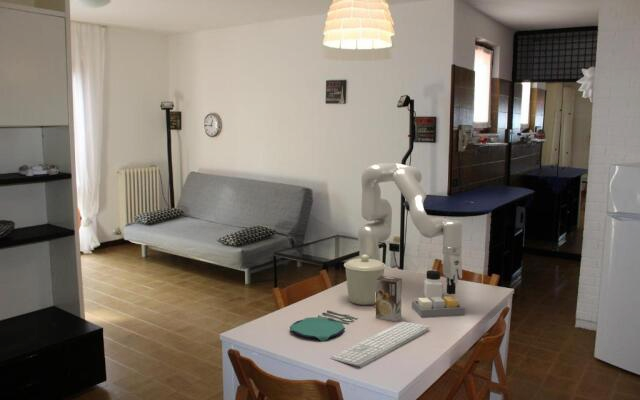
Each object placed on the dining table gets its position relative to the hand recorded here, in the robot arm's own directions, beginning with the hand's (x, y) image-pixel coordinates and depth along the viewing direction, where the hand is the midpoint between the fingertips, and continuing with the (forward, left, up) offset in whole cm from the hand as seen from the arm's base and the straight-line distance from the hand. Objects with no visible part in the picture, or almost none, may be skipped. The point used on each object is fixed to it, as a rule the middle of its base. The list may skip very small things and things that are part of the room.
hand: (450, 293), depth 231 cm
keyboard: (-37, -29, -8) cm, 48 cm away
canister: (-33, +17, -8) cm, 38 cm away
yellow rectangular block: (0, 0, -5) cm, 5 cm away
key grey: (-6, 0, -5) cm, 8 cm away
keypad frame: (-6, 0, -7) cm, 9 cm away
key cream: (-11, 0, -5) cm, 12 cm away
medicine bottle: (-1, +19, -8) cm, 21 cm away
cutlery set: (-55, -10, -8) cm, 56 cm away
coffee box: (-28, -4, -8) cm, 29 cm away
